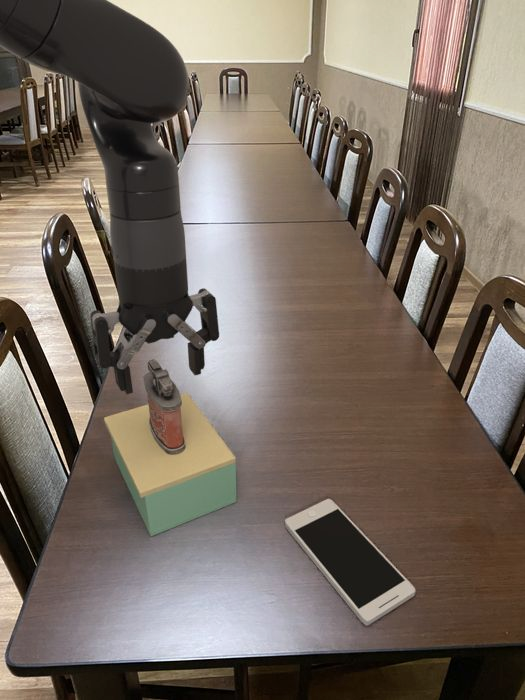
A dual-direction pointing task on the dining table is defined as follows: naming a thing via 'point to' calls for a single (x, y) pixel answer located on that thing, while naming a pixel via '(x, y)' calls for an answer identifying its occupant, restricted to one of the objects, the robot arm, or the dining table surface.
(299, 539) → the smartphone
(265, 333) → the dining table surface
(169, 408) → the lighter
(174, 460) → the lunchbox lid
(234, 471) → the box
